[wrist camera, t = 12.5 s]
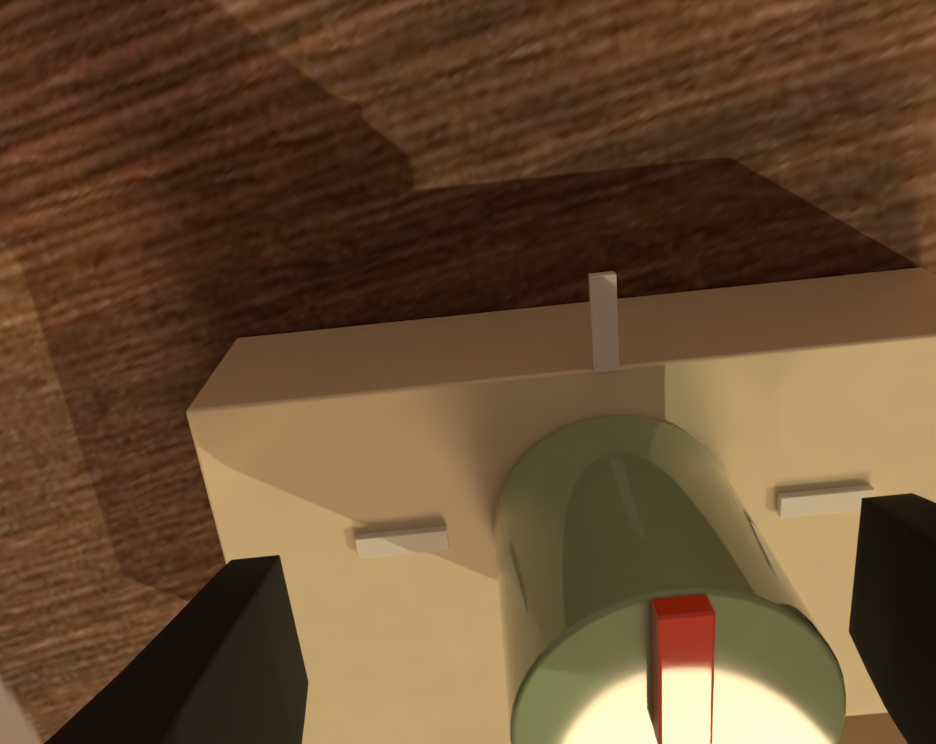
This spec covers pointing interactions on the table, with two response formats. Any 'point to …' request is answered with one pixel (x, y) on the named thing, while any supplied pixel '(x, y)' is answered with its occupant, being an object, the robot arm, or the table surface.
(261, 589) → the robot arm
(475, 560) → the tan base plate
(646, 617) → the green dial knob
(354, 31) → the table surface
